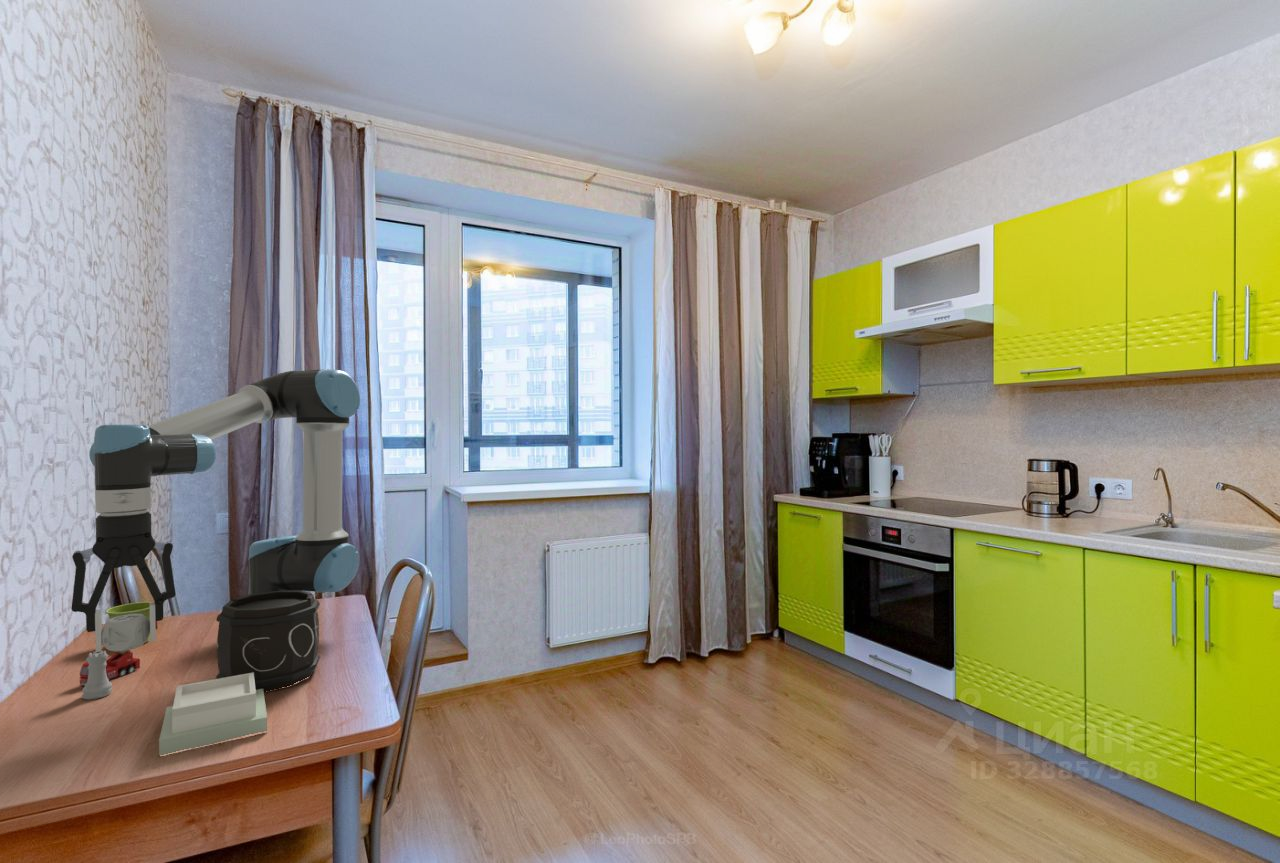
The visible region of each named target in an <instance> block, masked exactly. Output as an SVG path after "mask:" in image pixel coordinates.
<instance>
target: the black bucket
mask: <svg viewBox="0 0 1280 863" xmlns="http://www.w3.org/2000/svg"><path fill="white" fill-rule="evenodd" d="M320 604H321V603H320V601H319V600H318V599H315V596H314V594H313V593H311V592H309V591H273V592H266V593H258V594H251V595H249V594H248V595H245V596H240V597H237V598H234V599H233V600H232V599H231V600H229V601H228V602H227V603H225V604H224V605H223V606H222V609H221V612H220V613H219V614H218V615H217V617H216V619H215V620H216V622H218V630H217V637H216V658H217V666H218V673H217V674H216V676H215V679H219V678H225V677H231V676H236V675H242V674H247V673H253V672H254V680H255V689H256V690H258V689H263V692H266V691H270V690H274V689H279V688H282V687H287V686H290V685H293V684H294V683H296V682H298V681H301V680H303V679H305V678H307V677H309V676H311V677H312V675H313V673H314V671H315V670H316V669H317V666H318V664H319V660H320V658H321V655H319V654H318V651H319V650H318V648H319V641H320V640H319V639H320V620H319V613H318V609H319V607H320ZM311 674H312V675H311ZM279 690H280V689H279ZM270 692H271V691H270ZM266 693H267V692H266Z"/></svg>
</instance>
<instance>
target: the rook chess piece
mask: <svg viewBox="0 0 1280 863" xmlns="http://www.w3.org/2000/svg"><path fill="white" fill-rule="evenodd" d="M108 659H109V654H108V653H107V650H103V649H102V651H99V652H96V650H95V651H93V652H89V653H88V656H87V658H86V659H85V662H88V663H89V666H88V669H89V675H88V680H87V683H86V684H85V686H84V687H82V691H81V692H82V693H83V694H82V695H81V698H82V699H83V700H85V699H87V700H86V701H91V699H92V700H98V699H103V698H105V697H107V696H109V695H110V694H111V693H112V692H113V689H112V687H113V684H112V682H111V681H110V679H108V678H107V674H106V665H107V663H106V660H108Z"/></svg>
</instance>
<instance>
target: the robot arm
mask: <svg viewBox="0 0 1280 863" xmlns="http://www.w3.org/2000/svg"><path fill="white" fill-rule="evenodd" d="M360 404H361V394H360V390H359V387H358V385H357V383H356V381H355V380H353V377H352V376H350V374H348V373H347V372H346V371H343V370H341V369H329V368H326V369H325V368H322V369H311V370H310V369H309V370H290V371H289V370H288V371H284V372H279V373H276V374H274V375H271V376H269V377H264V378H263V379H260V380H258V381H255V382H252V383H248V384H247V385H244V386H242V387H241V388H240V389H239V391H238V392H237V393H235V394H232V395H230V396H227V397H223V398H221V399H218V400H215V401H213V402H210V403H207V404H204V405H202V406H199V407H196V408H194V409H191V410H188V411H186V412H183V413H179V414H177V415H174V416H171V417H169V418H166V419H164V420H161V421H157V422H154V423H151V424H150V425H147V424H101V425H99V426H98V427H97V428H95V431H94V437H93V443H92V444H91V446H90V449H89V452H88V453H89V460H90V462H91V464H92V465H93V467H94V487H95V489H94V503H95V505H94V506H95V507H94V509H95V512H96V513H97V514H99V515H97V516H96V518H95V542H94V544H93V546H92V547H91V548H87V549H84V550H75V551H74V552H73V553H72V555H71V556H72V561H73V563H74V565H75V566H74V567H75V573H74V580H73V581H74V582H73V588H72V589H73V591H72V601H71V607H70V608H71V611H72V612H74V613H78V612H79V613H83V614H85V623H86V624H85V625H86V628H85V629H86V631H87V633H93V632H95V634H94V635H95V637H94V638H95V651H96V653H99V651H102V650H103V644H102V640H101V634H102V630H103V627H102V626H103V625H102V624H103V620H102V619H103V618H102V617H103V616H102V609H97V607H98V604H99V602H100V600H101V597H102V595H103V592H104V590H105V588H106V585H107V583H108V581H109V579H110V575H111V574H112V572H113V569H119V568H122V567H125V566H126V567H134V566H135V567H137V570H138V571H139V573H140V575H141V577H142V578H143V581H144V583H145V584H146V585H145V586H146V587H147V589H148V592H149V593H150V595H151V597H152V598H153V601H148V602H149V604H150V638H149V641H150V643H153V642H157V639H156V638H157V629H156V623H155V621H157V622H159V621H160V622H161V621H163V619H164V603H165V602H166V600H169V599H173V598H175V596H176V587H175V580H174V579H175V578H174V574H173V568H172V561H171V556H172V552H173V551H172V550H173V548H174V545H173V542H172V541H166V542H165V541H155V538H153V534H152V531H153V530H152V513H150V512H149V511H148V510H150V509H151V508H152V494H151V493H152V492H151V491H152V489H151V486H152V484H151V483H152V482H151V481H152V477H158V476H159V477H160V476H172V475H173V476H174V475H175V476H176V475H186V474H187V475H189V474H190V475H193V474H196V473H203V472H206V471H208V470H210V469H211V468H212V467H213V465H214V464H215V461H216V457H217V449H216V446H215V443H214V442H213V440H216V439H217V438H220V437H223V436H225V435H228V434H230V433H233V432H235V431H237V430H239V429H242V428H244V427H247V426H248V425H249V426H250V425H251V424H253V423H257V424H264V423H266V422H269V421H273V420H277V419H289V418H295V421H296V422H295V424H296V426H297V427H299V429H301V431H302V432H303V440H302V443H303V444H302V445H303V446H302V447H303V449H302V450H303V452H302V453H303V455H302V456H303V457H302V459H303V461H302V530H301V532H300V533H298V534H296V535H287V536H280V537H274V538H266V539H262V540H258V541H254V542H253V543H251V545H249V549H248V550H249V551H248V557H247V564H248V565H247V566H248V568H247V569H248V570H247V571H248V572H247V573H248V574H247V575H248V595H251V594H258V593H266V592H273V591H305V592H314V593H315V592H316V593H321V594H324V593H337V592H340V591H342V590H344V589H345V588H347V587H348V586H349V585H350V583H352V581H353V579H354V578H355V576H356V575H357V572H358V570H359V566H360V554H359V552H358V550H357V548H356V546H354V545H352V544H351V543H349V541H350V540H349V536H350V535H349V533H348V532H346V530H344V528H343V432H344V430H346V428H348V427H349V426H350V418H351V417H352V416H354V415H355V414H356V413H357V412H358V409H359V408H360ZM154 548H155V550H157V552H156V553H157V554H158V555H161V562H162V568H163V576H164V584H165V588H166V589H165V591H163V592H161V589H160V588H159V586H158V584H157V581H156V579H155V578H154V576H153V574H152V571H151V569H150V568H149V566H148V563H147V561H146V558H147V556H148V555H149V554H150V553H151V551H152V550H153V549H154ZM93 555H95V556H96V557H97V558H98V559H99V560H100V561H101V562H102V563H104V564H103V567H102V568H101V572H100V574H99V577H98V579H97V581H96V583H95V586H94V589H93V591H92V594H91V596H90V598H89V601H88V603H86V602H83V600H84V599H83V598H84V590H85V581H86V580H85V579H86V573H87V572H86V571H87V563H89V562H90V561H91V558H92V557H91V556H93Z"/></svg>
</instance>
